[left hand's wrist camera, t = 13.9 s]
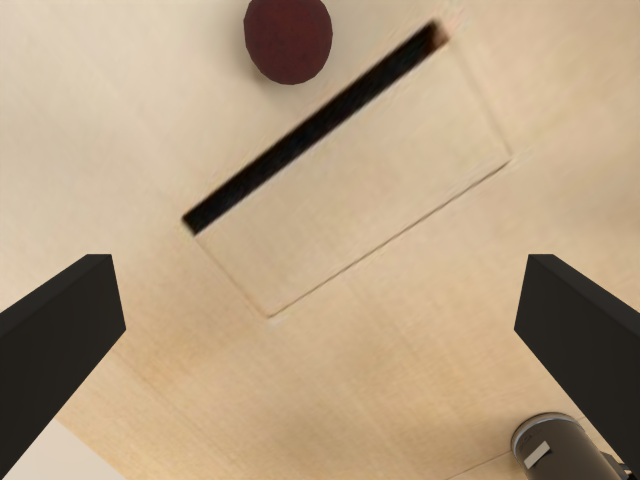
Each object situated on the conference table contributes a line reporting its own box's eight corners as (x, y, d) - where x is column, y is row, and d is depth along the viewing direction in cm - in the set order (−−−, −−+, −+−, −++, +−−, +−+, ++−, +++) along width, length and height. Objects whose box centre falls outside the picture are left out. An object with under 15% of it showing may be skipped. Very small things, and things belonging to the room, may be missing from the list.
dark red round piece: (283, 101, 38) (276, 102, 31) (234, 26, 36) (215, 10, 29) (347, 54, 37) (354, 45, 30) (300, -27, 34) (296, -56, 28)
